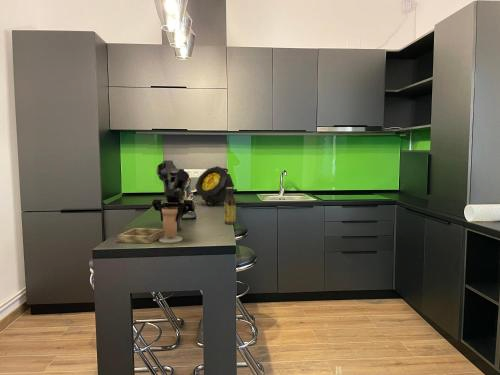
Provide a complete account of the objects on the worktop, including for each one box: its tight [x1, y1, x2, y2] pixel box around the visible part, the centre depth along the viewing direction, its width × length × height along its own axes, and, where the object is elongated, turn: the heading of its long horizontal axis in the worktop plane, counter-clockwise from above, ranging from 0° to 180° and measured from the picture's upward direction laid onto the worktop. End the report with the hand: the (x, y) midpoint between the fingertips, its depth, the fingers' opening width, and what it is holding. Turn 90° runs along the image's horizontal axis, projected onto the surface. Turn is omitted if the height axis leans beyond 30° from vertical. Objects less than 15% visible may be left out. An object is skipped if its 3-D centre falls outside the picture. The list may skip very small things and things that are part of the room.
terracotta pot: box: [162, 207, 178, 237], centre depth 158 cm, size 7×7×12 cm
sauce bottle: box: [223, 187, 237, 225], centre depth 196 cm, size 6×6×20 cm
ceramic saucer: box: [158, 235, 183, 244], centre depth 158 cm, size 10×10×1 cm
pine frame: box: [117, 227, 164, 244], centre depth 161 cm, size 15×15×3 cm
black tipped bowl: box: [195, 165, 238, 207], centre depth 270 cm, size 28×28×24 cm
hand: (168, 220), depth 156 cm, fingers closed on terracotta pot, 6 cm apart
